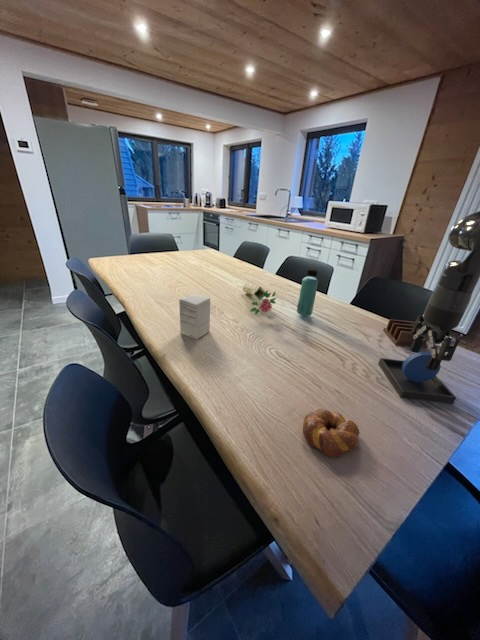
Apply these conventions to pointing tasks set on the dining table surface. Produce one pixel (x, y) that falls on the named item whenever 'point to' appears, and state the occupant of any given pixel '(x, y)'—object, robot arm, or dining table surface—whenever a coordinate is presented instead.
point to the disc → (418, 367)
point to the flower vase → (259, 298)
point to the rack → (402, 333)
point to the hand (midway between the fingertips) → (422, 360)
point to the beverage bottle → (307, 293)
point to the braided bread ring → (330, 432)
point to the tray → (415, 384)
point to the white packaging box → (194, 315)
